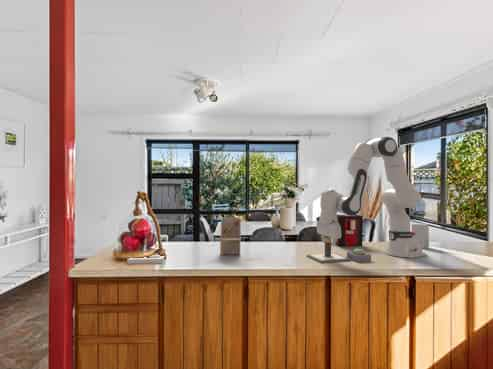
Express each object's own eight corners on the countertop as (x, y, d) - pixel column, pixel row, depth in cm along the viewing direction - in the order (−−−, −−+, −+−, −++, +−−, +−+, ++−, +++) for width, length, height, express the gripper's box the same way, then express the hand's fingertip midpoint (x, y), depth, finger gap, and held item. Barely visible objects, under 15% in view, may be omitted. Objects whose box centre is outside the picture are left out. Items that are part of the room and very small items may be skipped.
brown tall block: (220, 254, 202) (220, 211, 202) (239, 254, 203) (239, 211, 203) (220, 257, 195) (220, 212, 194) (240, 257, 196) (240, 212, 195)
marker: (329, 255, 194) (329, 237, 194) (332, 256, 190) (332, 238, 190) (323, 255, 193) (323, 237, 193) (326, 257, 189) (326, 239, 189)
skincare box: (429, 247, 223) (429, 223, 223) (423, 249, 220) (424, 224, 219) (416, 245, 230) (417, 222, 230) (411, 246, 227) (411, 223, 226)
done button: (359, 253, 192) (359, 248, 192) (365, 255, 188) (365, 250, 188) (352, 254, 191) (352, 249, 191) (357, 256, 186) (357, 250, 186)
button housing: (360, 257, 195) (360, 251, 195) (370, 261, 187) (371, 254, 186) (346, 258, 192) (346, 252, 192) (356, 262, 184) (356, 255, 184)
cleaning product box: (338, 246, 226) (338, 216, 225) (333, 244, 235) (333, 214, 234) (362, 246, 228) (362, 216, 228) (356, 243, 237) (356, 214, 236)
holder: (144, 247, 223) (144, 243, 222) (172, 246, 224) (172, 242, 224) (127, 264, 178) (127, 259, 178) (162, 264, 179) (162, 258, 179)
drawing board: (334, 254, 202) (334, 252, 202) (350, 260, 187) (350, 258, 187) (306, 256, 196) (306, 254, 196) (321, 263, 181) (321, 260, 181)
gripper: (344, 221, 182) (344, 247, 183) (324, 217, 202) (324, 240, 202) (333, 221, 180) (333, 248, 181) (314, 217, 200) (314, 241, 200)
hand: (328, 244), depth 192 cm, fingers open, 8 cm apart
